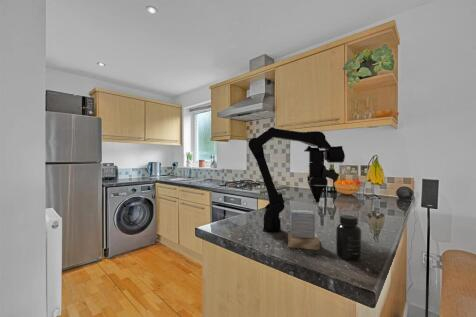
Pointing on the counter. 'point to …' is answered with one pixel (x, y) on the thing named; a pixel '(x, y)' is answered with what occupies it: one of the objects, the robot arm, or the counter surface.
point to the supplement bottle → (348, 238)
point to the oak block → (303, 242)
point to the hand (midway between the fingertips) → (316, 200)
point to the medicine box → (302, 224)
